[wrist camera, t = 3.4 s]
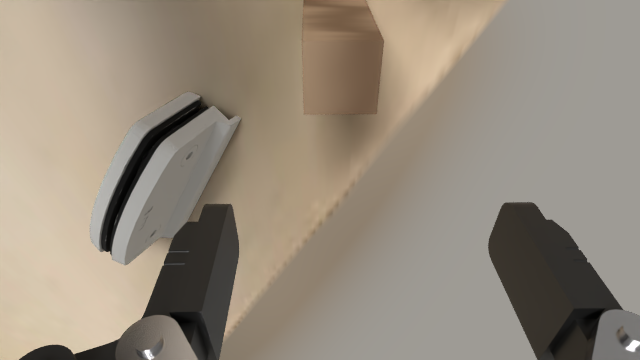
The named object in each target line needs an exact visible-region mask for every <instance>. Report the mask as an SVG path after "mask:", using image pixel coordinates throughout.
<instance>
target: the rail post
mask: <svg viewBox="0 0 640 360" xmlns="http://www.w3.org/2000/svg"><path fill="white" fill-rule="evenodd" d="M383 45H384V40H383V38H382V35H381V33H380V31H379V29H378V27H377V24H376V22H375V20H374V18H373V15H372V13H371V11H370V9H369V7H368V4H367V2H366V0H304V5H303V30H302V61H303V103H304V114H376V113H377V103H378V93H379V84H380V74H381V65H382V55H383Z"/></svg>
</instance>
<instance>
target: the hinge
mask: <svg viewBox="0 0 640 360" xmlns="http://www.w3.org/2000/svg"><path fill="white" fill-rule="evenodd" d="M200 97H201V96H199V95H197V94H195V93H192V92H188V91H187V92H185V93H184V94H182V95H180V96H179V97H177V98H175V99H174V100H172V101H170V102H169V103H167V104H165V105H164V106H162V107H160V108H159V109H157V110H155V111H154V112H152V113H150V114H149V115H147V116H145V117H143V118H142V119H140V120H138V121H137V122H136V123H135V124H134V125H133V126H132V127H131V128H130V130H129V131H128V133H127V135H126V136H125V138H124V140H123V141H122V143H121V145H120V147H119V149H118V150H117V152H116V154H115V156H114V158H113V160H112V162H111V164H110V166H109V168H108V170H107V173H106V175H105V177H104V179H103V181H102V184H101V187H100V189H99V192H98V195H97V198H96V200H95V204H94V207H93V211H92V216H91V222H90V238H91V242H92V243H93V244H94V245H95V247H96V248H97V249H98V250H99V251H100V252H103V251H106V252H109V251H110V254H111V255H112V260H114V261H116V262H118V263H121V264H123V265H127V264H129V263H130V262H131V261H133V260H134V259H135V258H136V257H137V256H138V255H140V254H141V253H142V252H143V251H144V250H146V249H147V248H148V247H149V246H150V245H152V244H153V243H154V242H155V241H156V240H157V239H159V238H161V237H162V238H173V237H174V235H175V234H176V233H177V232H178V231H179V230H180V229H181V228H182V226H183V225H184V224H185V223H186V222H187V221H188V219H189V217H190V215H191V213H192V211H193V209H194V208H195V206H196V204H197V202H198V200H199V198H200V196H201V194H202V192H203V190H204V189H205V187H206V185H207V183H208V181H209V179H210V177H211V175H212V173H213V171H214V169H215V168H216V166H217V164H218V162H219V160H220V158H221V156H222V154H223V152H224V150H225V148H226V147H227V145H228V143H229V141H230V139H231V137H232V135H233V133H234V131H235V129H236V128H237V126H238V124H239V122H240V120H241V118H240V117H238V116H237V115H236V116H235V117H233V118H232V119H230V120H228V119H227V118H226V117H225V116H224V115H223V114H222V113H221V112H220V111H219V110H218V109H217V108H216V107H215V106H214V105H213V106H212V107H210V108H208V107H207V106H206V107H204V108H203V109H201V110H200V111H199V108H200V106H201V104H202V103H201V102H200V101H199V99H200ZM198 111H199V112H198Z"/></svg>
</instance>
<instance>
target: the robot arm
mask: <svg viewBox="0 0 640 360" xmlns="http://www.w3.org/2000/svg"><path fill="white" fill-rule="evenodd" d="M488 246H489V247H488V248H489V254H490V258H491V260H492V263H493V265H494V267H495V269H496V271H497V273H498V276H499V278H500V280H501V282H502V284H503V286H504V288H505V291H506V293H507V295H508V297H509V299H510V301H511V304H512V306H513V308H514V310H515V312H516V314H517V316H518V319H519V321H520V323H521V325H522V327H523V329H524V331H525V334H526V336H527V338H528V340H529V342H530V344H531V347H532V349H533V351H534V353H535V355H536V357H537V359H538V360H640V316H639V315H637V314H634V313H632V312H629V311H625V310H623V309H622V308H621V306H620V305H619V303H618V302H617V300H616V299H615V298H614V296H613V295H612V294H611V292H610V291H609V289H608V288H607V287H606V285H605V284H604V282H603V281H602V280H601V278H600V277H599V275H598V274H597V272H596V271H595V270H594V268H593V267H592V265H591V264H590V263H588V262H587V258H586V257H585V256H584V255H583V253H582V252H581V250H579V249H578V246H577V244H576V243H575V242H574V240H573V239H572V238H571V236H570V235H569V233H568V232H567V231H565V230H564V229H563V228H562V227H560V226H559V225H558V224H557V223H555V222H554V221H553V220H546V219H545V217H544V216H543V214H542V213H541V212H540V210H539V209H538V207H537V206H536V205H535V204H534V203H531V202H527V203H526V202H517V203H504V204H503V205H502V207H501V209H500V212H499V215H498V218H497V220H496V222H495V225H494V227H493V230H492V233H491V235H490V238H489V245H488ZM238 258H239V240H238V234H237V229H236V223H235V218H234V212H233V207H232V205H231V204H206V205H204V207H203V210H202V213H201V216H200V219H199V222H186V223H185V224H184V225H183V226H182V228H181V229H180V230H179V231H178V232H177V233H176V234H175V235H174V237H173V240H172V243H171V245H170V248H169V253H167V256H166V258H165V261H164V266H162V269H161V271H160V274H159V277H158V279H157V282H156V284H155V287H154V290H153V292H152V295H151V297H150V300H149V303H148V305H147V308H146V310H145V313H144V315H143V317H142V318H141V320H139V321H137V322H136V323H134V324H133V325H131V326H130V327H129V328H128V329H127V330H126V331H125V332H124V333H123V335H122V336H121V338H120V339H118V340H116V341H114V342H111V343H109V344H106V345H102V346H99V347H96V348H93V349H89V350H86V351H83V352H80V353H76V354H73V353H72V352H71V350H70V349H68V348H67V347H65V346H62V345H48V346H44V347H40V348H38V349H35V350H33V351H31V352H29V353H28V354H26V355H25V356H23V357H22V358H21V359H19V360H219V357H220V352H221V347H222V342H223V336H224V331H225V326H226V321H227V316H228V310H229V305H230V300H231V295H232V290H233V285H234V279H235V274H236V269H237V264H238Z"/></svg>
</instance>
